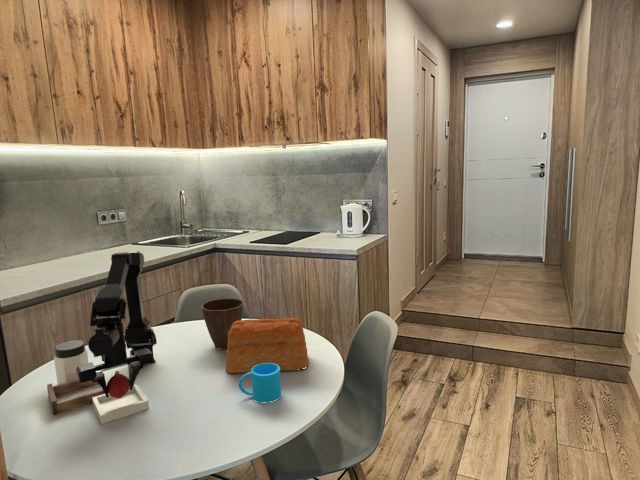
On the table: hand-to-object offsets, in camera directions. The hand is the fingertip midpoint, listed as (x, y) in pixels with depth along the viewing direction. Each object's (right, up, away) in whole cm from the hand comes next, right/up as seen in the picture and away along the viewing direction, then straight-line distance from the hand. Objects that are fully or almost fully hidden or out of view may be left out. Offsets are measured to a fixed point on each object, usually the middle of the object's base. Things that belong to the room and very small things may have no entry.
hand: (119, 393), depth 120 cm
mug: (+39, -3, +4) cm, 39 cm away
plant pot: (+20, +3, +41) cm, 46 cm away
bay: (-14, -3, +6) cm, 16 cm away
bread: (+38, +1, +25) cm, 46 cm away
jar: (-22, -2, +16) cm, 27 cm away
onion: (0, -2, 0) cm, 2 cm away
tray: (0, -4, +1) cm, 4 cm away
